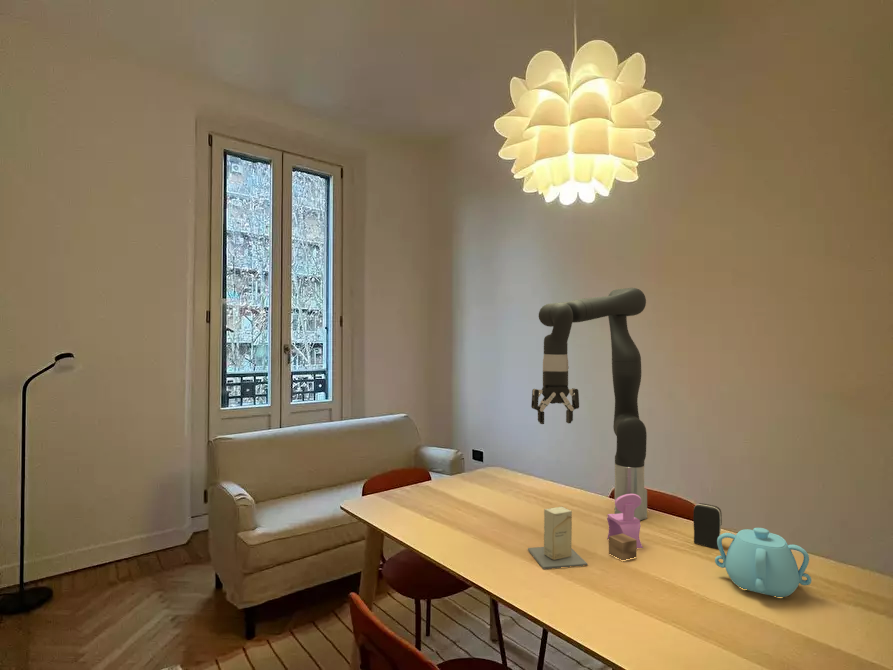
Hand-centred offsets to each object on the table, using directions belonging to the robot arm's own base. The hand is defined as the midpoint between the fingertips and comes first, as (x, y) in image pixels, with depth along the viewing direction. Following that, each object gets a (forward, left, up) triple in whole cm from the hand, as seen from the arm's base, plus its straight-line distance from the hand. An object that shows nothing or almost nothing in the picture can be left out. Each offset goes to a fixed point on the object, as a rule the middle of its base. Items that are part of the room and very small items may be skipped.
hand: (555, 423), depth 154 cm
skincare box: (+6, +16, -33) cm, 37 cm away
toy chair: (-17, +10, -33) cm, 39 cm away
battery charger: (-40, +15, -33) cm, 54 cm away
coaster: (+6, +16, -33) cm, 37 cm away
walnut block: (-12, +18, -33) cm, 40 cm away
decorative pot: (-36, +39, -33) cm, 63 cm away
